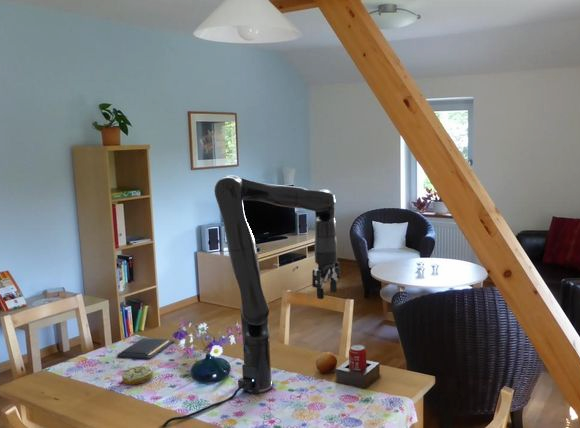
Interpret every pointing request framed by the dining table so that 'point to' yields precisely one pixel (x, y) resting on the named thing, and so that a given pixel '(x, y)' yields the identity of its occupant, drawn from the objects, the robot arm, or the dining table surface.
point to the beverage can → (357, 358)
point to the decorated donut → (137, 374)
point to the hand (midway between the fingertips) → (327, 295)
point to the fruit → (326, 362)
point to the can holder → (358, 374)
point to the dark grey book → (145, 348)
